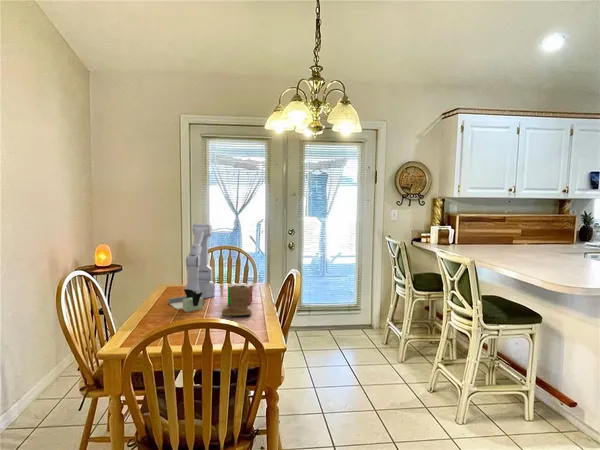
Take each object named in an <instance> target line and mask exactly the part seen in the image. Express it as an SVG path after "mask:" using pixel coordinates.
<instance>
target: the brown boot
mask: <svg viewBox="0 0 600 450" xmlns="http://www.w3.org/2000/svg"><path fill="white" fill-rule="evenodd" d="M233 285H234V286H232V285H230V286H231V288H230V300H231V305H230V306H228V307H227V308H226V307H225V308H223V309H222V310H221V317H241V316H250V315H252V314H253V312H252V310H251V309H250V308H249V307H248V305H249V304H248V301H249V298H250V287H248V286H239V285H237V286H235V284H233Z"/></svg>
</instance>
